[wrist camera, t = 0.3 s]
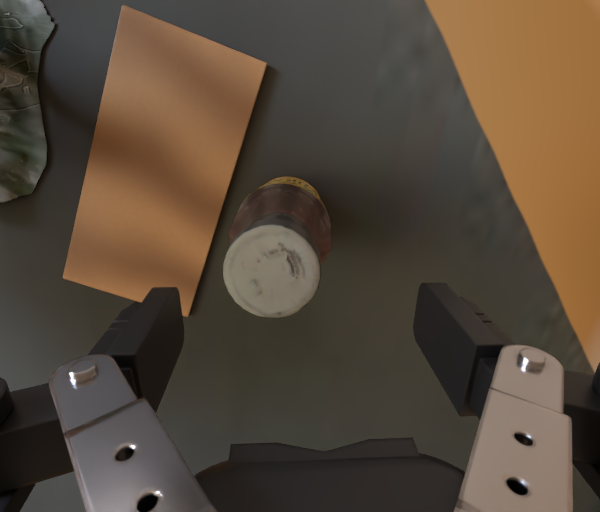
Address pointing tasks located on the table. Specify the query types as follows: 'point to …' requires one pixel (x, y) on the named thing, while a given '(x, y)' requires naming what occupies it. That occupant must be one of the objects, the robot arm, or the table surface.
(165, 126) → the flat copper plate
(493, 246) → the table surface
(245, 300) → the sauce bottle
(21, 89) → the rose bouquet
